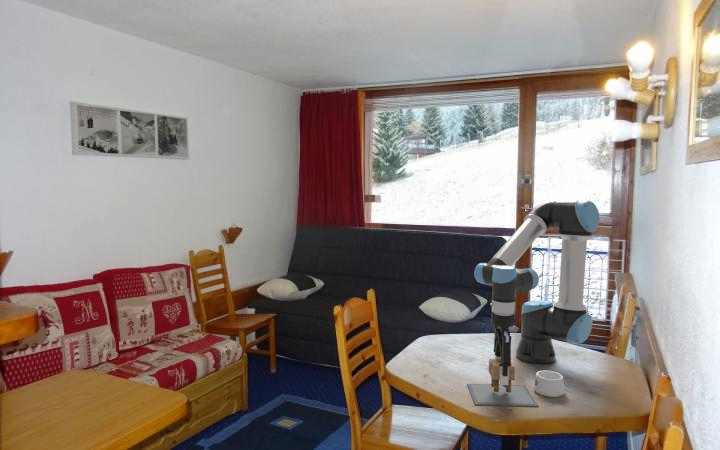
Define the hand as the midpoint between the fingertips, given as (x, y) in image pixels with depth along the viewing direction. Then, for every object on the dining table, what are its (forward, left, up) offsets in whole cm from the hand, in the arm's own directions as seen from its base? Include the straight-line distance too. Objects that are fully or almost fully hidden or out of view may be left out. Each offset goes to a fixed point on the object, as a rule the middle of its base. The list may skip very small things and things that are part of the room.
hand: (501, 379), depth 166 cm
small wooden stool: (0, 0, -3) cm, 3 cm away
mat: (0, 0, -5) cm, 5 cm away
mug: (-17, -5, -6) cm, 19 cm away
